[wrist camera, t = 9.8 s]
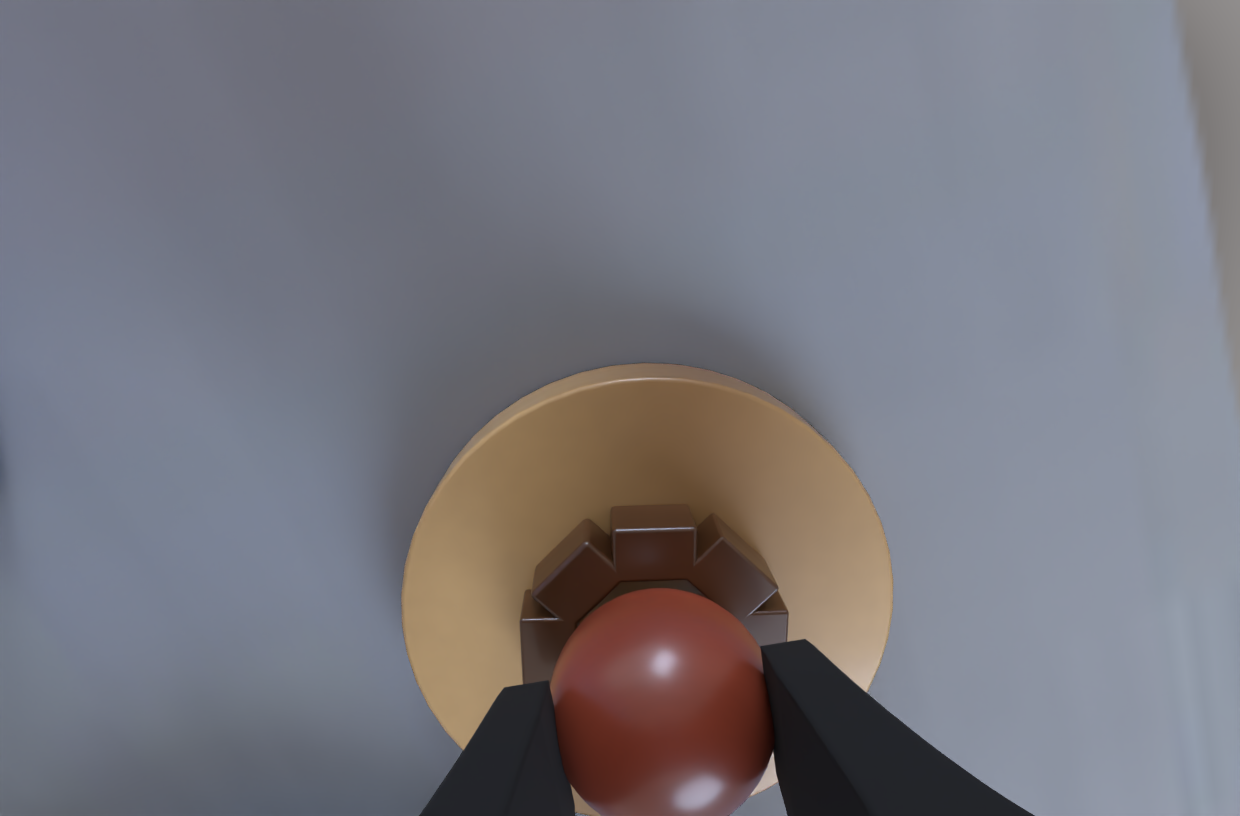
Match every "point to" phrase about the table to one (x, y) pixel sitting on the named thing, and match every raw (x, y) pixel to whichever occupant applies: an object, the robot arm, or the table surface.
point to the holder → (637, 532)
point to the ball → (662, 707)
